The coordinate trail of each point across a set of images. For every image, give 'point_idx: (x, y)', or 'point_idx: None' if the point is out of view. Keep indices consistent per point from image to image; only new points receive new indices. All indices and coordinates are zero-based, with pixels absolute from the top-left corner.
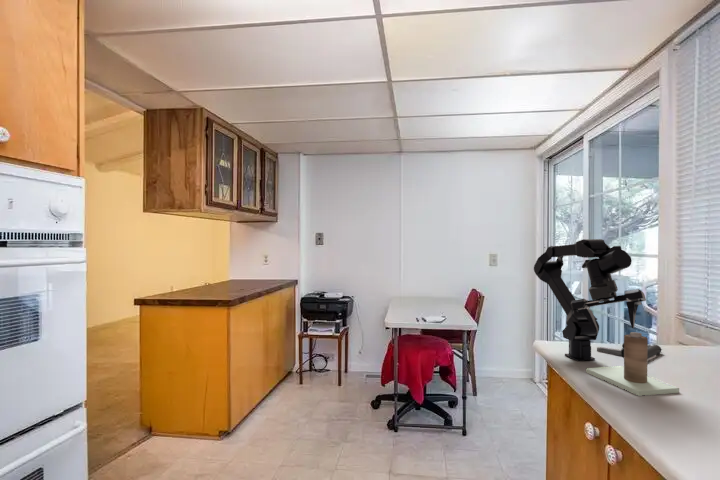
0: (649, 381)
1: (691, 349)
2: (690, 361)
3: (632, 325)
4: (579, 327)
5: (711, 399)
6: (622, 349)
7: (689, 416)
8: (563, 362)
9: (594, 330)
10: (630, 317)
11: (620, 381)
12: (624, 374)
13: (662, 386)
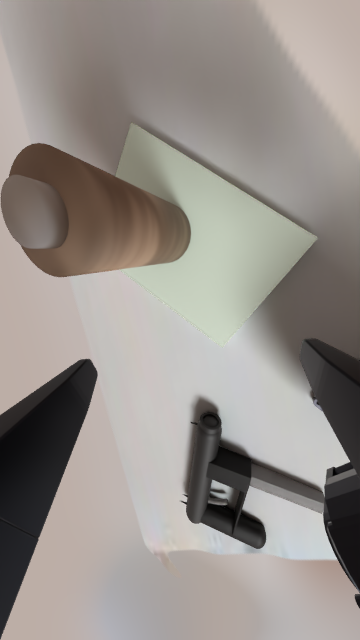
0: None
1: (162, 531)
2: (145, 464)
3: (74, 365)
4: None
5: None
6: (248, 478)
7: (44, 89)
8: None
9: (345, 486)
10: (28, 406)
11: (188, 175)
12: (181, 214)
13: None
